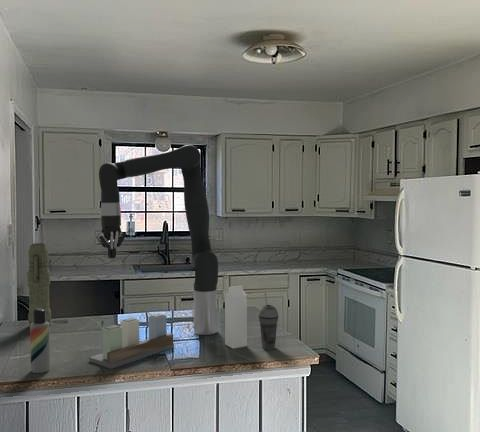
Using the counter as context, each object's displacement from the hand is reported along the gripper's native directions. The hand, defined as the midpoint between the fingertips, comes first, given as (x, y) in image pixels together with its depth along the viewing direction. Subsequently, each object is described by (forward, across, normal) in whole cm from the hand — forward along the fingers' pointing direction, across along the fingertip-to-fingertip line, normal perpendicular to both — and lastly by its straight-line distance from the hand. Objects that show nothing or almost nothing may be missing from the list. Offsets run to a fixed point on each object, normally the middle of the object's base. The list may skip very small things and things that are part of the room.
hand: (112, 258), depth 200 cm
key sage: (+29, -21, -26) cm, 44 cm away
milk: (+31, +19, -47) cm, 59 cm away
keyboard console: (+31, -11, -25) cm, 41 cm away
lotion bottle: (+30, -40, -14) cm, 52 cm away
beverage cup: (+32, +24, -58) cm, 70 cm away
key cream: (+29, -11, -23) cm, 39 cm away
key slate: (+29, -1, -26) cm, 39 cm away
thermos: (+30, -11, +35) cm, 48 cm away
